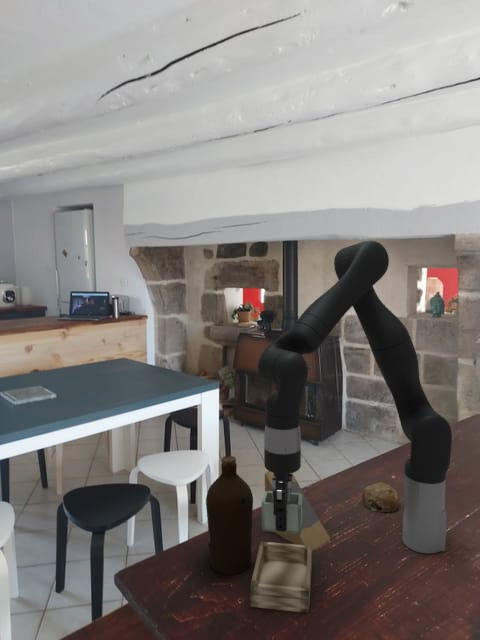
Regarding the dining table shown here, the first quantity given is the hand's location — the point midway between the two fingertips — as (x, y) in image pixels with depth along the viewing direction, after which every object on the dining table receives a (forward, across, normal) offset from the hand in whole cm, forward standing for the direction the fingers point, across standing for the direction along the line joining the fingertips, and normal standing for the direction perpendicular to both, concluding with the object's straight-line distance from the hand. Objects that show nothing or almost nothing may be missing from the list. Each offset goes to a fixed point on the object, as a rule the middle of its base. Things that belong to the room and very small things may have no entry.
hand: (282, 522), depth 105 cm
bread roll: (+14, +39, -24) cm, 48 cm away
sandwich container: (+14, +20, -2) cm, 25 cm away
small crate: (+1, 0, 0) cm, 1 cm away
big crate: (+14, 0, 0) cm, 14 cm away
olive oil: (+14, +6, +13) cm, 20 cm away
